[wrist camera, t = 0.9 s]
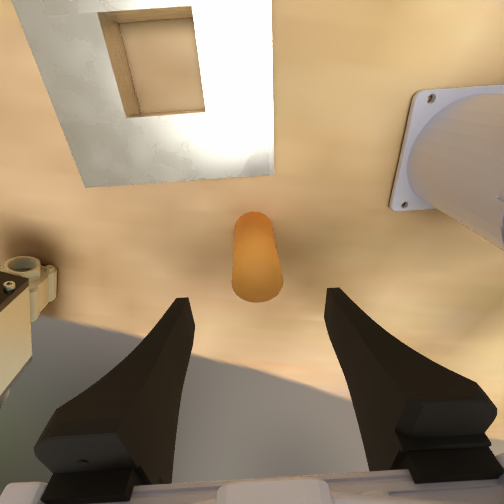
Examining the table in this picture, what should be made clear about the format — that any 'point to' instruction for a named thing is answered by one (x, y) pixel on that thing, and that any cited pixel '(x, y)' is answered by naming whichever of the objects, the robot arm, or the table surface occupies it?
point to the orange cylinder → (255, 259)
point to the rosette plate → (124, 98)
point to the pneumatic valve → (21, 313)
